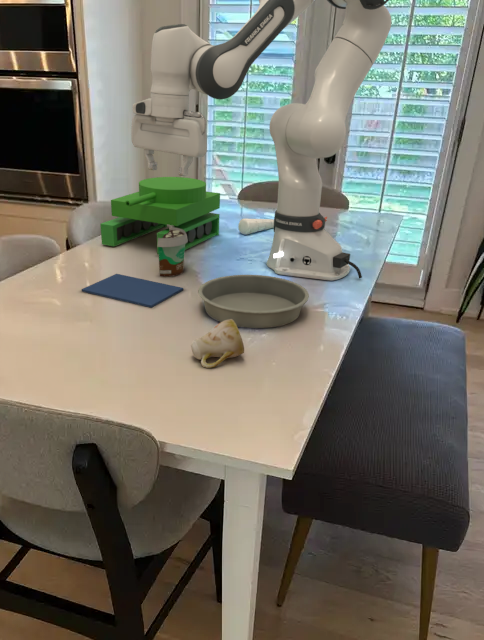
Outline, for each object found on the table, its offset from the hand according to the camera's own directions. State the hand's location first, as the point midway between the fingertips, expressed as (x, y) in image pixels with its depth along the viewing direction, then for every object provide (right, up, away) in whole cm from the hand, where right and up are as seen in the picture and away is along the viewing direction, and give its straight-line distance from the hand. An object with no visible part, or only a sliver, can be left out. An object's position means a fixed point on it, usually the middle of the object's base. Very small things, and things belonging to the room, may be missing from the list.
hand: (167, 172), depth 146 cm
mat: (-8, -29, 0) cm, 30 cm away
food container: (+1, -21, +13) cm, 25 cm away
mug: (+11, -48, -31) cm, 58 cm away
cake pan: (+20, -35, -9) cm, 41 cm away
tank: (-6, -6, +37) cm, 38 cm away
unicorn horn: (+28, +3, +53) cm, 60 cm away
